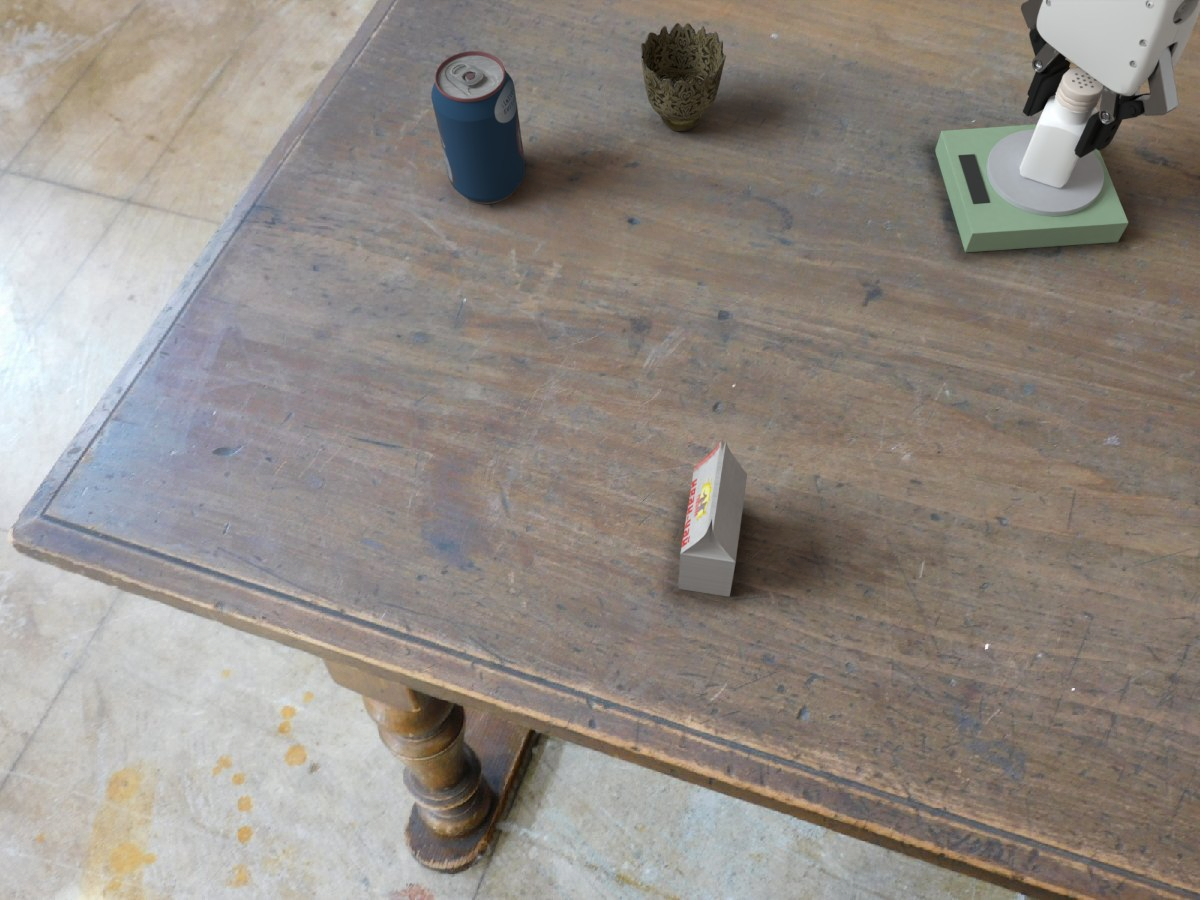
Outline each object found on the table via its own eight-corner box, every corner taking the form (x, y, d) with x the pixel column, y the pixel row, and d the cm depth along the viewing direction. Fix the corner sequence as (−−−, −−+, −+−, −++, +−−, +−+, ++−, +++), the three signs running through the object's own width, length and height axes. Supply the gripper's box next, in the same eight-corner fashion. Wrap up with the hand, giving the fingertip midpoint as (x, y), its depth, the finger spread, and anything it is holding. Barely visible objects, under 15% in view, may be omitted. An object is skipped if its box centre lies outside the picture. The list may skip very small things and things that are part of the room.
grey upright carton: (740, 512, 80) (752, 444, 71) (729, 596, 76) (740, 535, 68) (691, 505, 80) (696, 436, 72) (678, 588, 77) (682, 527, 68)
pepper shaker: (1029, 146, 93) (1066, 56, 85) (1075, 161, 92) (1117, 72, 84) (1015, 177, 91) (1051, 88, 83) (1062, 192, 90) (1103, 104, 82)
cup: (722, 148, 99) (728, 78, 92) (642, 150, 99) (642, 81, 92) (717, 91, 102) (723, 20, 95) (640, 94, 102) (639, 23, 96)
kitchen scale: (1078, 140, 97) (1090, 115, 95) (1117, 242, 91) (1131, 217, 89) (934, 150, 97) (942, 125, 95) (964, 252, 91) (974, 228, 89)
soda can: (542, 178, 97) (530, 71, 87) (487, 221, 95) (467, 117, 85) (490, 142, 100) (471, 34, 90) (434, 183, 98) (409, 77, 87)
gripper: (1298, -34, 69) (1177, 171, 85) (1099, -158, 77) (1022, 52, 92) (1217, 11, 67) (1109, 212, 83) (1022, -120, 75) (956, 88, 91)
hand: (1064, 126), depth 88 cm, fingers closed on pepper shaker, 5 cm apart
